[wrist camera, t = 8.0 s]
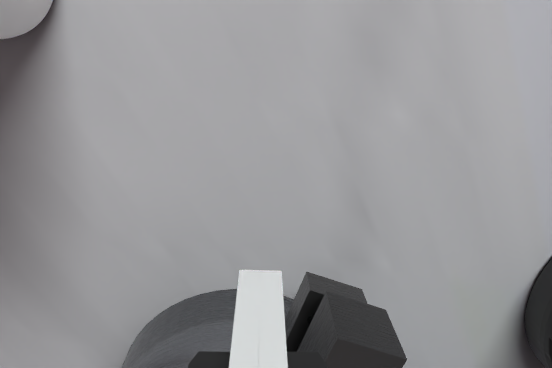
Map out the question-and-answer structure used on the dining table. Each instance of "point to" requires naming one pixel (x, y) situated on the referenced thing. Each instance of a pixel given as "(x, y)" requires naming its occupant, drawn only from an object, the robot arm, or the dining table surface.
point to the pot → (222, 324)
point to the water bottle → (21, 16)
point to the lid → (352, 335)
